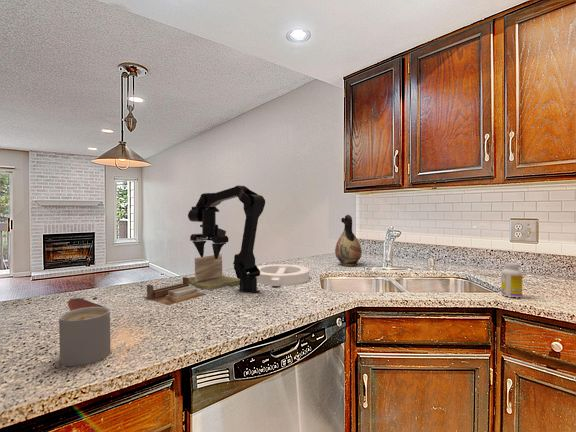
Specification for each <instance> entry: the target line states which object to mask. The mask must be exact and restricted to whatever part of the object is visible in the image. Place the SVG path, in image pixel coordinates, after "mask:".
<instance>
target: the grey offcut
mask: <svg viewBox="0 0 576 432" xmlns="http://www.w3.org/2000/svg"><path fill="white" fill-rule="evenodd" d="M196 292H198V288H197V287H195V286H190V285H189V286H187V287H183V288H179V289H175V290H171V291H168V295H169V296H173V297H181V296H185V295H189V294H192V293H196Z"/></svg>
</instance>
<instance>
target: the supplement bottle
mask: <svg viewBox="0 0 576 432" xmlns="http://www.w3.org/2000/svg"><path fill="white" fill-rule="evenodd" d="M504 267H505V268H504V269H502V270H501V287H500V288H501V291H500V293H501V296H503V295H505V296H510V297H521V298H522V297H523V272H522V270H520V269H519V268H520V263H516V262H504ZM505 296H504V297H505Z"/></svg>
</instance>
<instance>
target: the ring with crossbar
mask: <svg viewBox="0 0 576 432" xmlns="http://www.w3.org/2000/svg"><path fill="white" fill-rule="evenodd" d="M256 266H257V265H256ZM257 267H258V269H259V270H260V275H259V276H257V284H258V283H259V284H260V285H264V284H265V286H270V287H271V286H272V287H280V286H281V287H282V286H283V287H284V286H285V287H286V286H294V285H295V286H297V285H301V284H304V283H305V284H306V283H307V282H308V281H310V268H309V267H307V266H303V265H298V264H285V263H284V264H282V263H279V264H275V263H274V264H263V265H258V266H257Z"/></svg>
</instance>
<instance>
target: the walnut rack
mask: <svg viewBox="0 0 576 432" xmlns="http://www.w3.org/2000/svg"><path fill="white" fill-rule="evenodd" d="M189 278H190V277H187V276H183V277H182V283H178V284H173V285H169V286H164V287H159V288H154V285H152V284H146V296H143V297H142V299H145V300H149V301H153V302H156V303H159V304H163V305H166V306H171V305H174V304H177V303H181V302H184V301H185V302H186V301H189V300H191V299H195V298H199V297H203V296H206V295H207V293H204V292H199V291H198V292H199V296H197V297H194V298H190V299H187V300H183V301H180V302H173V301H169V300H166V295H168V291H171V290H175V289H179V288H183V287H187V286H189V287H190V284H189Z"/></svg>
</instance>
